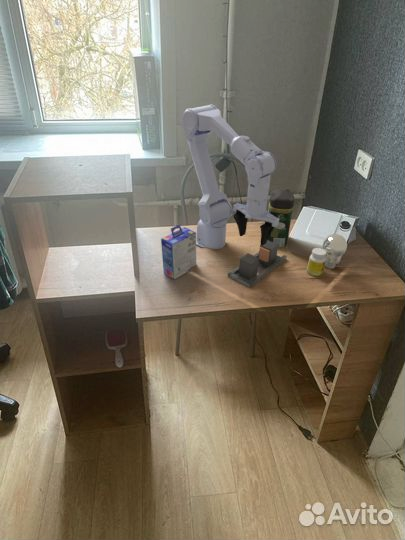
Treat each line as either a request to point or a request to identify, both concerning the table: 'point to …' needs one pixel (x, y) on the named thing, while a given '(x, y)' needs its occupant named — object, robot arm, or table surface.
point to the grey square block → (248, 266)
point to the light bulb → (334, 249)
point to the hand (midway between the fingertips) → (252, 239)
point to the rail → (261, 272)
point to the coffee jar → (281, 215)
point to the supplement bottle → (316, 262)
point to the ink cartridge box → (178, 251)
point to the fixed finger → (268, 253)
